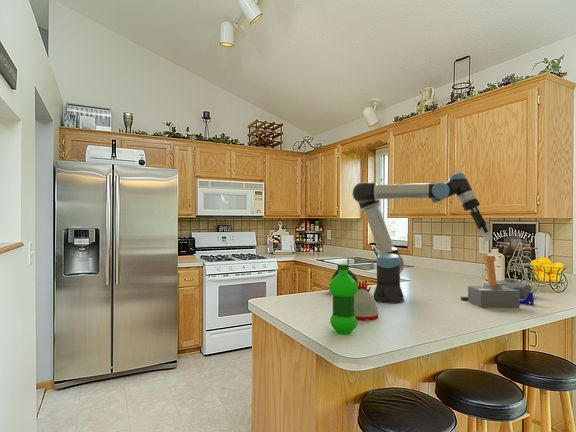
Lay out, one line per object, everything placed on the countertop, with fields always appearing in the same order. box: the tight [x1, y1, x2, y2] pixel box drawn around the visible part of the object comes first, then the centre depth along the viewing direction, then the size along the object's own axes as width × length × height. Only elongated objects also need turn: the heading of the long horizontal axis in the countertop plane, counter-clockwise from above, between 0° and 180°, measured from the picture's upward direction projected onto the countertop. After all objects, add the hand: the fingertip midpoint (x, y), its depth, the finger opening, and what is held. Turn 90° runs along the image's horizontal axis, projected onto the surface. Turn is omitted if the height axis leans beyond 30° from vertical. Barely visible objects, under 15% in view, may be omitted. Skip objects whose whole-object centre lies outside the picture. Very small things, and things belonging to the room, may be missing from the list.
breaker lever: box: [483, 255, 497, 288], centre depth 168 cm, size 4×3×15 cm
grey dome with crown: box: [354, 281, 379, 322], centre depth 147 cm, size 14×14×15 cm
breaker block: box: [467, 282, 521, 309], centre depth 166 cm, size 18×12×10 cm, turn 89°
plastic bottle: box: [328, 263, 359, 335], centre depth 126 cm, size 10×10×25 cm
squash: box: [330, 268, 359, 286], centre depth 198 cm, size 14×15×15 cm
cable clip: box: [520, 291, 535, 307], centre depth 171 cm, size 12×4×6 cm, turn 47°
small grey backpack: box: [496, 279, 532, 299], centre depth 189 cm, size 15×8×20 cm
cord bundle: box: [460, 296, 468, 301], centre depth 176 cm, size 21×3×1 cm, turn 89°
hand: (489, 239), depth 167 cm, fingers open, 13 cm apart
